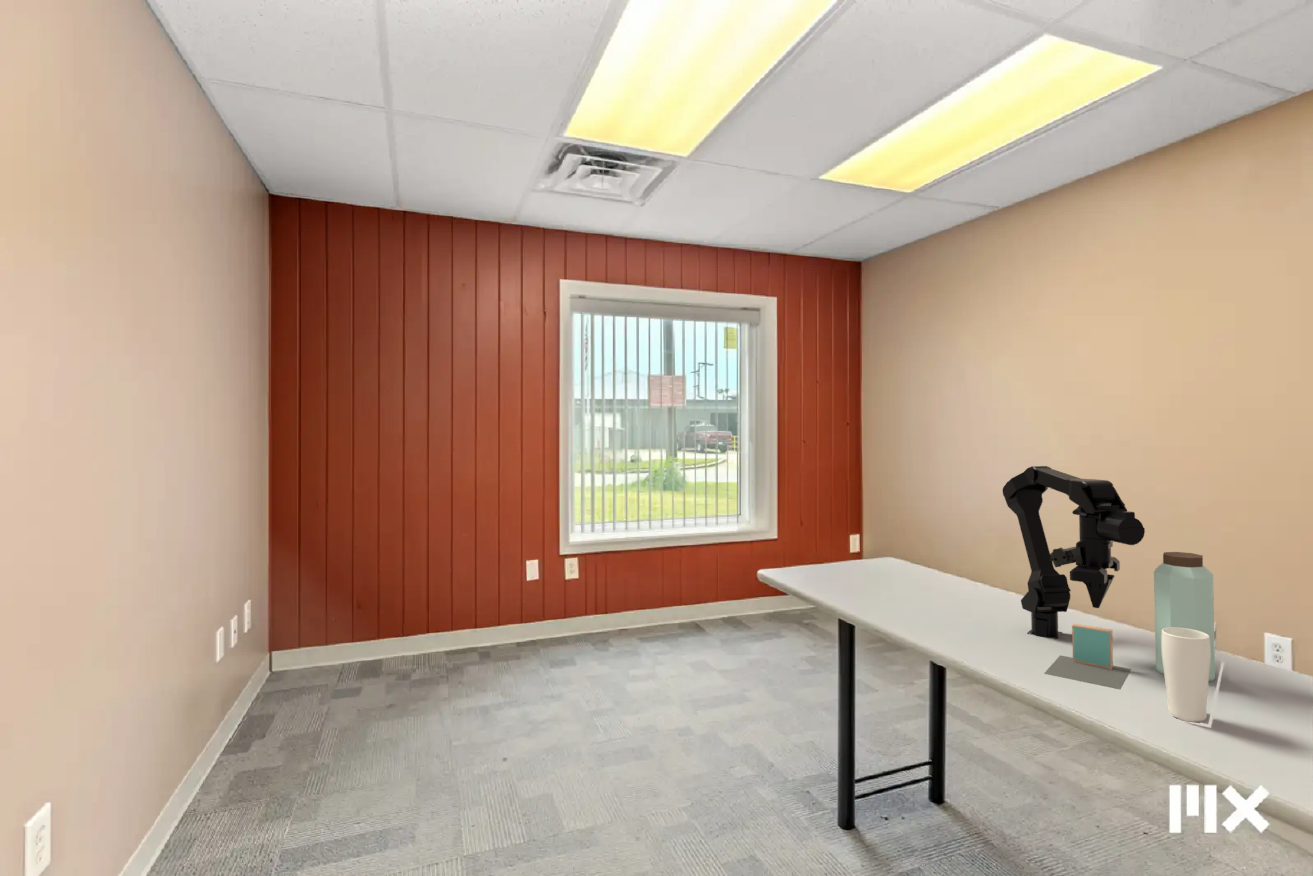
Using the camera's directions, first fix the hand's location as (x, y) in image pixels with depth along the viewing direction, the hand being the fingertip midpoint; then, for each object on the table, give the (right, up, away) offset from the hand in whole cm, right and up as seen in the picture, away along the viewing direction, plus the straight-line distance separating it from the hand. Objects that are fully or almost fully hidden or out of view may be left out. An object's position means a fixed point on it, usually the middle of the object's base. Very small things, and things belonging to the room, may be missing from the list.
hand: (1096, 607), depth 143 cm
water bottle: (+11, -12, -11) cm, 19 cm away
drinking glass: (-3, -12, -29) cm, 31 cm away
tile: (-4, -11, -4) cm, 12 cm away
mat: (-7, -12, -8) cm, 16 cm away
